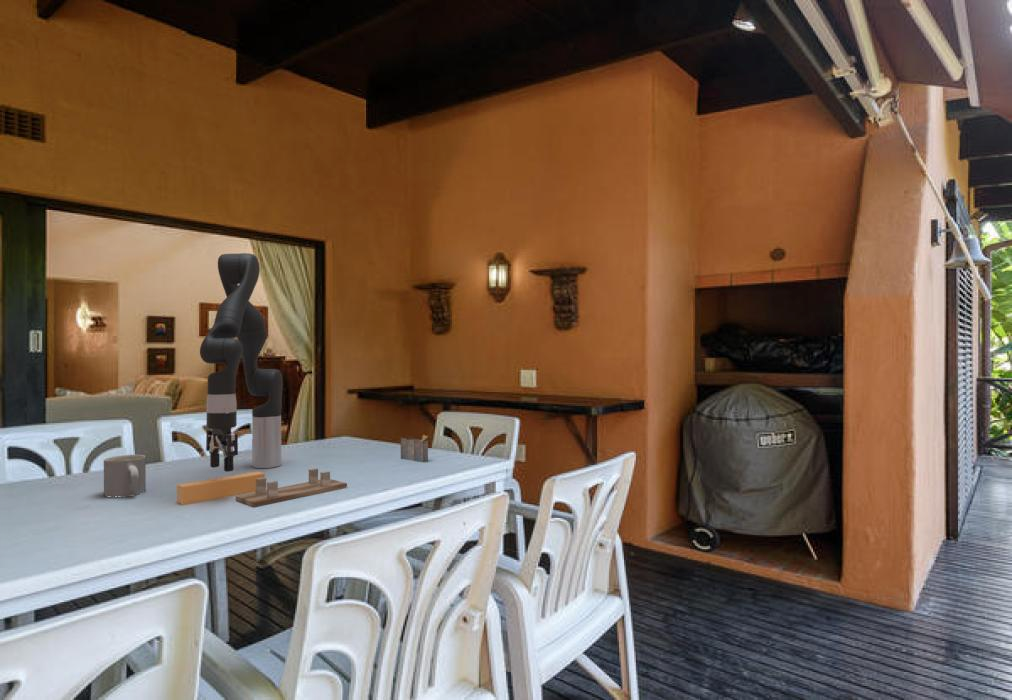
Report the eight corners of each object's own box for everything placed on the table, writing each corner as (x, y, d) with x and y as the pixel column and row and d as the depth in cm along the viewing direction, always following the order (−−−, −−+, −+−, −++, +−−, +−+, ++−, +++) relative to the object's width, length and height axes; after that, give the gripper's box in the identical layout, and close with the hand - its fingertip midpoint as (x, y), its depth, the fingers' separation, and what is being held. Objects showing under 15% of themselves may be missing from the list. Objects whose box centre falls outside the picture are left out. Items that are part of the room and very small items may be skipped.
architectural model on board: (428, 462, 216) (428, 435, 215) (422, 463, 213) (422, 436, 213) (406, 458, 222) (406, 432, 222) (400, 459, 220) (400, 433, 220)
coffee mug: (102, 492, 171) (102, 457, 171) (143, 487, 177) (142, 453, 177) (106, 502, 160) (106, 464, 160) (149, 496, 166) (149, 460, 166)
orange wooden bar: (177, 503, 160) (177, 484, 160) (258, 488, 176) (258, 471, 176) (182, 506, 157) (182, 487, 157) (264, 490, 174) (264, 473, 173)
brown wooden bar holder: (236, 500, 162) (235, 481, 162) (327, 482, 183) (327, 465, 183) (254, 507, 155) (253, 487, 155) (347, 487, 176) (346, 469, 176)
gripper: (196, 409, 168) (196, 467, 168) (219, 413, 159) (219, 474, 159) (223, 407, 174) (223, 464, 174) (247, 411, 165) (247, 470, 165)
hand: (221, 469), depth 166 cm, fingers open, 8 cm apart
